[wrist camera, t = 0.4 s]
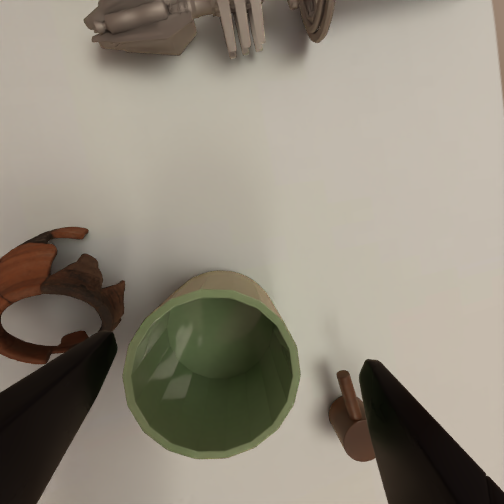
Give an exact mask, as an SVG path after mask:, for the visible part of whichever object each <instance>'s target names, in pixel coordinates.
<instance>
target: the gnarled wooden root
mask: <svg viewBox="0 0 504 504" xmlns="http://www.w3.org/2000/svg"><path fill="white" fill-rule="evenodd" d="M87 233H88V229H86V228H80V227H65V228H59V229H54V230H51V231H47V232H44V233H42V234H40V235H38V236H36V237H34V238H32V239H30V240H28V241H26V242H24V243H23V244H21V245H19V246H17V247H16V248H14V249H12V250H11V251H10V252H8V253H7V254H6V255H4V256H3V257H2V258H1V259H0V354H2V355H3V356H6V357H8V358H10V359H14V360H17V361H20V362H24V363H31V364H46V363H47V362H48V360H49V358H50V355H51V354H55V353H65V352H66V351H68V350H70V349H71V348H73V347H74V346H76V345H77V344H79V343H81V342H82V341H84V340H85V339H87V338H89V337H88V335H87V334H86V332H85V331H77V332H73V333H70V334H67V335H65V336H63V338H62V339H61V344H59V345H58V346H43V345H37V344H32V343H29V342H25V341H23V340H20V339H18V338H16V337H14V336H12V335H11V334H9V333H8V332H7V331H6V330H5V329H4V328H3V326H2V324H1V315H2V313H3V312H4V310H5V309H6V308H7V307H9V306H10V305H12V304H13V303H14V302H17V301H19V300H21V299H24V298H27V297H32V296H36V295H41V294H58V295H66V296H71V297H74V298H77V299H80V300H82V301H84V302H86V303H88V304H89V305H91V306H92V307H94V308H95V310H96V311H97V312H98V314H99V316H100V318H101V321H102V325H101V328H100V330H99V331H101V330H105V331H113V330H114V329H115V328H116V327H117V326H118V325H119V323H120V322H121V317H122V316H123V314H124V302H123V301H124V291H125V281H123V280H122V281H121V282H120V283H118V284H116V285H112V286H109V287H106V288H101V286H102V283H103V277H102V273H101V271H100V269H99V268H98V261H97V260H96V259H95V258H94V257H92V256H90V255H88V254H82V255H81V257H80V258H79V259H78V261H77V262H75V263H72V264H70V265H68V266H67V267H65V268H64V269H62V270H60V271H58V272H56V273H54V274H52V275H51V274H50V269H51V265H52V262H53V260H54V258H55V256H56V255H57V249H56V246H54V245H53V244H47V243H48V241H49V240H51V239H53V238H74V239H83V238H84V236H85V234H87Z"/></svg>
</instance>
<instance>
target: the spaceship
mask: <svg viewBox="0 0 504 504" xmlns="http://www.w3.org/2000/svg"><path fill="white" fill-rule="evenodd" d="M287 2H288V5H289V8H290V9H291V10H295V9H297V8H298V6H300V12H301V17H302V20H303V24H304V26H305V28H306V31H307V34H308V36H309V38H310V39H311V41H313V42H315V43H319V42H320V41H321V40H323V39H324V37H325V36H326V34H327V32H328V30H329V27H330V24H331V20H332V16H333V11H334V6H335V0H287ZM262 3H263V0H100V1H99V2H98V7H97V8H96V9H95V10H93V11H92V12H91V13H90V14H89V15H88V16H87V17H86V18H85V19H84V23H85V24H86V26H87V27H88V28H89V29H90V30H94V32H95V33H99V34H97V35H95V36H93V37H92V42H99V44H100V46H101V47H102V48H104V49H116V50H125V51H126V52H131V53H149V54H167V55H180V54H181V53H182V52H183V50H184V49H185V48H186V47H187V46H188V44H189V43H190V42H191V41H192V39H193V38H194V37H195V36H196V34H197V30H196V27H195V23H194V20H193V19H195V18H199V17H201V16H205V15H210V14H213V17H215V16H217V17H220V21H221V25H222V29H223V33H224V37H225V41H226V45H227V49H228V53H229V57H230V59H232V58H236V43H235V37H234V30H233V24H232V18H231V13H233V15H234V20H235V24H236V28H237V32H238V37H239V41H240V45H241V49H242V54H243V56H244V55H248V54H249V47H251V42H250V35H249V27H248V20H247V14H248V18H249V23H250V27H251V32H252V36H253V41H254V45H255V49H256V52H259V51H262V50H263V48H262V43H265V33H264V24H263V14H262ZM319 26H320V28H319ZM318 28H319V29H318ZM317 29H318V30H317Z"/></svg>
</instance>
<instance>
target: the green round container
mask: <svg viewBox="0 0 504 504" xmlns="http://www.w3.org/2000/svg"><path fill="white" fill-rule="evenodd" d="M300 375H301V374H300V366H299V358H298V350H297V346H296V344H295V342H294V340H293V338H292V336H291V334H290V332H289V330H288V329H287V327H286V325H285V323H284V321H283V319H282V318H281V316H280V314H279V313H278V311H277V309H276V308H275V306H274V304H273V303H272V301H271V299H270V297H269V296H268V294H267V293H266V291H264V290H263V289H262V288H261V287H260V286H259V285H258V284H257V283H256V282H255V281H253V280H252V279H250V278H248V277H247V276H244V275H242V274H239V273H236V272H232V271H210V272H206V273H203V274H200V275H198V276H196V277H193V278H191V279H190V280H189V281H187V282H186V283H185V284H183V285H182V286H181V287H180V288H178V289H177V290H176V291H175V292H174V293H173V294H172V295H170V296H169V297H168V298H167V299H166V300H165V301H164V302H163V303H162V304H161V305H160V306H158V307H157V308H156V309H155V310H154V311H153V312H152V313H151V314H150V315H149V316H148V317H146V319H145V320H144V321H143V323H142V324H141V326H140V328H139V329H138V331H137V332H136V334H135V336H134V337H133V339H132V340H131V342H130V343H129V346H128V350H127V355H126V360H125V365H124V370H123V383H124V389H125V394H126V400H127V405H128V407H129V409H130V411H131V412H132V414H133V416H134V417H135V419H136V421H137V422H138V424H139V426H140V427H141V429H142V430H143V431H144V433H146V434H147V435H148V436H150V437H151V438H152V439H153V440H155V441H156V442H157V443H159V444H160V445H161V446H162V447H164V448H165V449H167V450H169V451H172V452H175V453H178V454H181V455H184V456H187V457H191V458H194V459H222V458H229V457H231V456H234V455H237V454H240V453H242V452H245V451H248V450H250V449H253V448H254V447H256V446H258V445H259V444H260V443H261V442H263V441H264V440H265V439H266V438H268V437H269V436H270V435H271V434H273V433H274V432H275V431H276V430H278V429H279V427H280V425H281V424H282V422H283V421H284V419H285V418H286V416H287V415H288V413H289V411H290V410H291V408H292V407H293V405H294V402H295V398H296V394H297V389H298V385H299V381H300Z"/></svg>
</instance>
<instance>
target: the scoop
mask: <svg viewBox="0 0 504 504" xmlns="http://www.w3.org/2000/svg"><path fill="white" fill-rule="evenodd" d="M337 379H338V382H339V385H340V389H341V392H342V395H343V396H341V397H339V398H338V399H336V400H335V401H334V402H333V404H332V405H331V407H330V410H329V420H330V423H331V424H332V426H333V428H334V430H335V432H336V434H337V436H338V438H339V440H340V442H341V444H342V446H343V447H344V449H345V451H346V453H347V454H348V455H349V456H350V457H351V458H352V459H354V460H356V461H361V462H366V461H370V460H372V459H374V458H376V457H375V453H374V450H373V446H372V443H371V439H370V435H369V431H368V427H367V422H366V416H365V411H364V405H363V402H362V401H361V400H360V399H359V398H358V397H356V394H355V390H354V387H353V384H352V380H351V377H350V374H349V372H348V371H346V370H341V371H339V372H337Z"/></svg>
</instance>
